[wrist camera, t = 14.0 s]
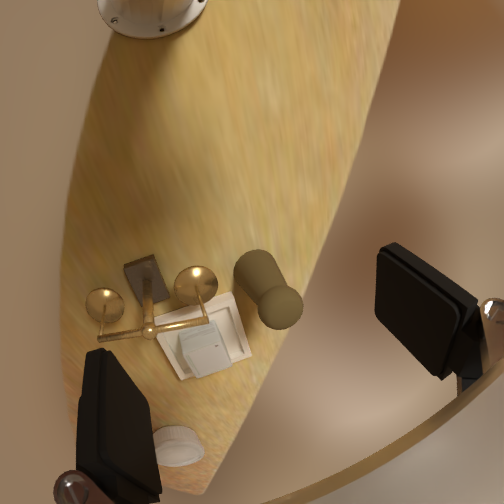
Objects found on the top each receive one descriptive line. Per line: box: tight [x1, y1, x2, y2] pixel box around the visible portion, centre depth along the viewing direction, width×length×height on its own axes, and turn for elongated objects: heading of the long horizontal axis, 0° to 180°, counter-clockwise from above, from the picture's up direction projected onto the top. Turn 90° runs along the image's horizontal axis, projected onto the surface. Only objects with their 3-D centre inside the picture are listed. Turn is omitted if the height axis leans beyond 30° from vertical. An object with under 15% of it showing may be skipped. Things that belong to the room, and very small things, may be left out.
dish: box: [154, 291, 252, 380], centre depth 44 cm, size 12×12×2 cm
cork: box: [234, 250, 303, 330], centre depth 38 cm, size 6×6×11 cm
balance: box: [86, 255, 218, 343], centre depth 33 cm, size 6×17×12 cm, turn 103°
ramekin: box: [153, 425, 205, 467], centre depth 52 cm, size 11×11×5 cm
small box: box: [179, 320, 232, 378], centre depth 42 cm, size 6×6×5 cm
